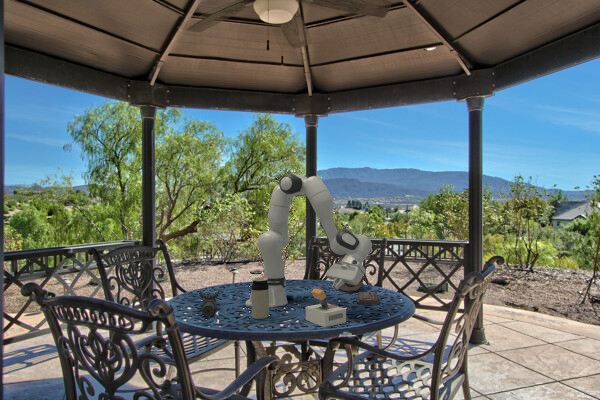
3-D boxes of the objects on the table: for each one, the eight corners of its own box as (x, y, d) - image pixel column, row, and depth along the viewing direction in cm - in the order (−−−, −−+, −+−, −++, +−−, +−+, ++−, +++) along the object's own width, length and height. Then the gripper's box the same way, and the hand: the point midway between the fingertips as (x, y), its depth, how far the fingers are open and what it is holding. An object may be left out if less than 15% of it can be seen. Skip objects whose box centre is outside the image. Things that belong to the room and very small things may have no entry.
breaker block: (326, 315, 187) (326, 302, 187) (346, 322, 176) (346, 308, 176) (305, 319, 180) (305, 306, 180) (325, 327, 169) (325, 312, 169)
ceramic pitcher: (365, 293, 237) (365, 251, 237) (330, 293, 236) (330, 251, 237) (360, 287, 254) (360, 248, 255) (328, 287, 254) (327, 248, 254)
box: (376, 297, 225) (376, 291, 225) (379, 305, 208) (379, 299, 208) (357, 297, 226) (357, 291, 226) (358, 305, 209) (358, 299, 209)
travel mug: (253, 320, 181) (253, 280, 181) (250, 315, 188) (250, 277, 189) (270, 318, 183) (270, 279, 183) (266, 314, 191) (266, 276, 191)
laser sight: (197, 318, 184) (197, 297, 185) (200, 307, 207) (200, 287, 207) (218, 317, 186) (218, 296, 186) (219, 306, 208) (219, 286, 209)
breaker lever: (322, 303, 181) (314, 288, 179) (331, 305, 176) (323, 290, 174) (319, 306, 180) (311, 291, 177) (327, 309, 175) (319, 293, 173)
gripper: (332, 258, 194) (316, 280, 189) (361, 262, 178) (345, 287, 172) (339, 266, 197) (324, 288, 191) (368, 271, 180) (353, 296, 174)
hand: (334, 288), depth 181 cm, fingers closed
